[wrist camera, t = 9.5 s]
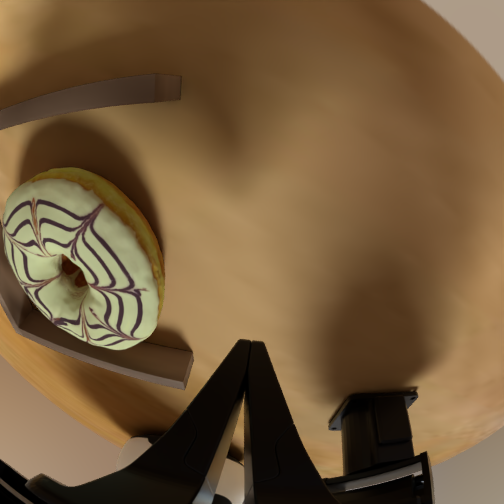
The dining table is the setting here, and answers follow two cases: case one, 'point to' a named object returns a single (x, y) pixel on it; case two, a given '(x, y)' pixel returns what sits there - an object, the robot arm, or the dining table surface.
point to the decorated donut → (85, 257)
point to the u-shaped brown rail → (5, 281)
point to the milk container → (230, 482)
